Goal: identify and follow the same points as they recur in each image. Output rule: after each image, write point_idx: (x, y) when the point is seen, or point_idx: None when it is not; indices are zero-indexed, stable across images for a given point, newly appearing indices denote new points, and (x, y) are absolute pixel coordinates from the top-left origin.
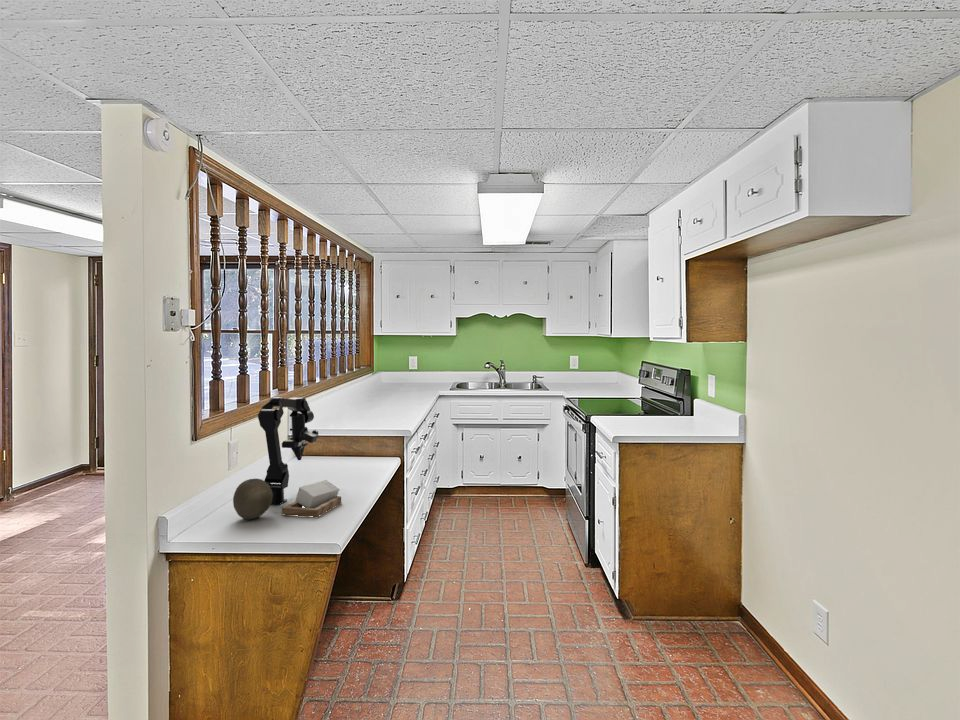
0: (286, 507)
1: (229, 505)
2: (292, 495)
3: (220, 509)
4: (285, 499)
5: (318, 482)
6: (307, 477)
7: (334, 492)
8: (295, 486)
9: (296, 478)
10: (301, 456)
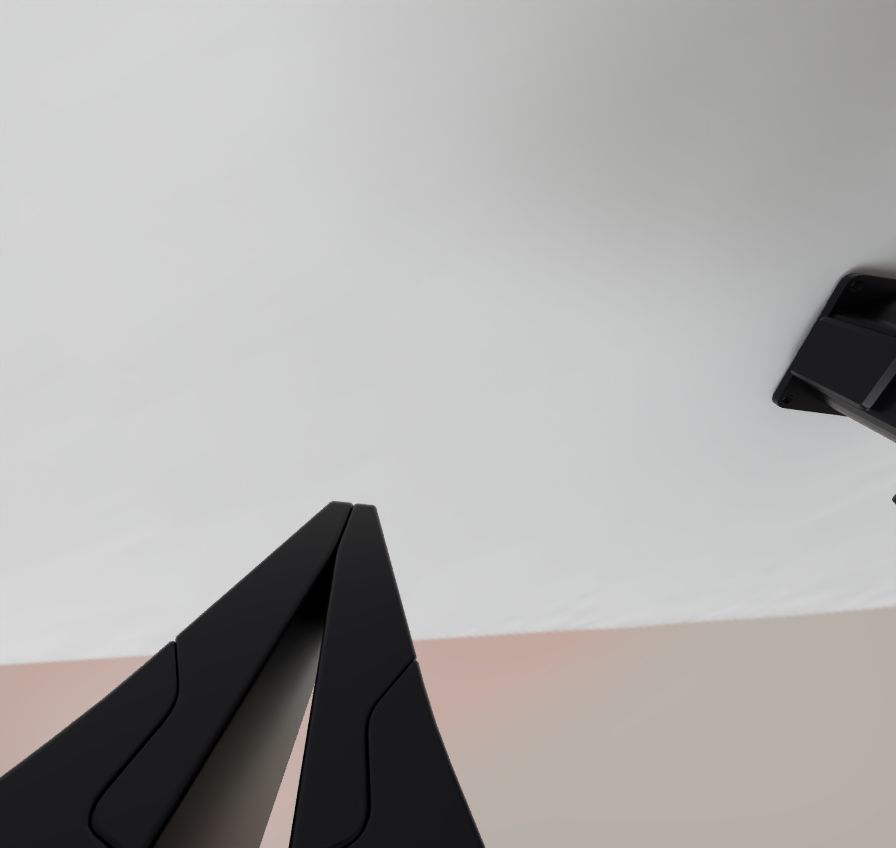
0: None
1: (805, 593)
2: (641, 307)
3: (879, 600)
4: (844, 294)
5: None
6: (24, 427)
7: None
8: (335, 406)
9: (101, 494)
10: (309, 550)
